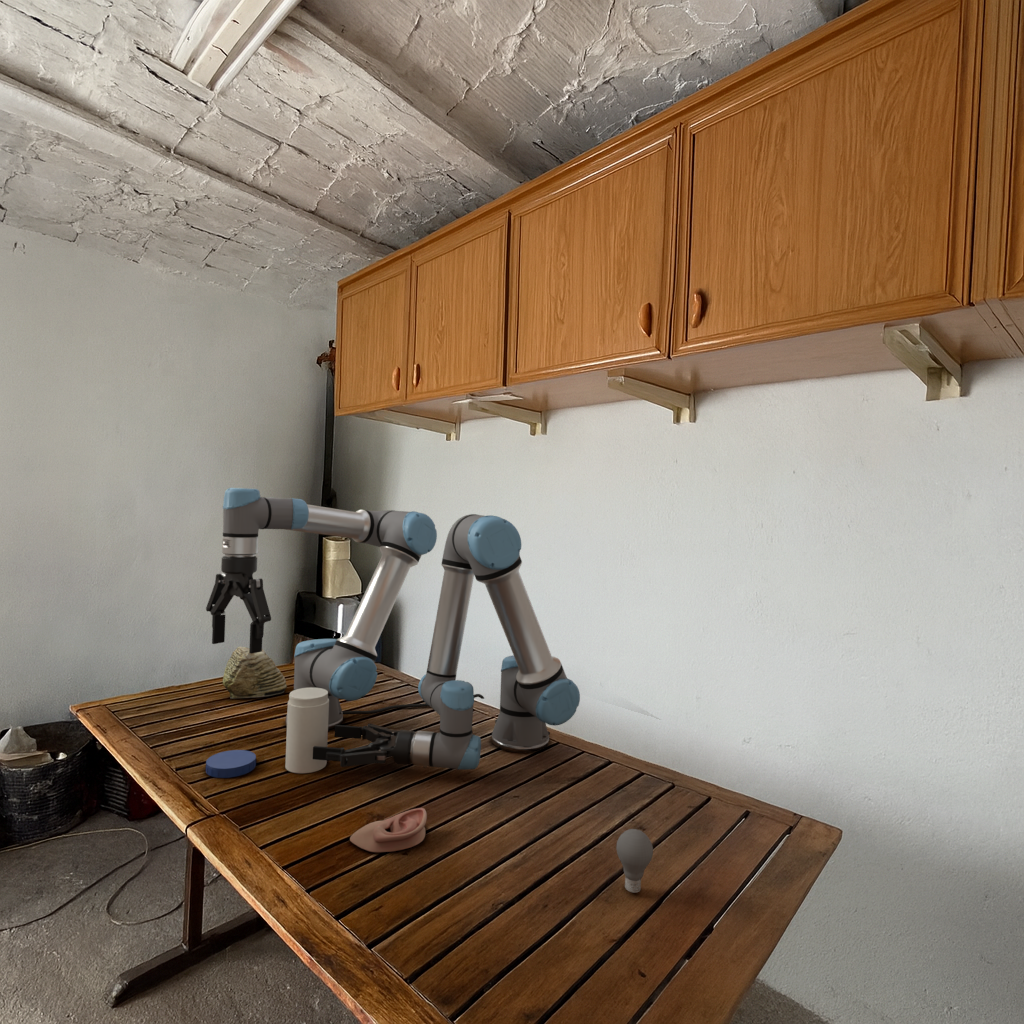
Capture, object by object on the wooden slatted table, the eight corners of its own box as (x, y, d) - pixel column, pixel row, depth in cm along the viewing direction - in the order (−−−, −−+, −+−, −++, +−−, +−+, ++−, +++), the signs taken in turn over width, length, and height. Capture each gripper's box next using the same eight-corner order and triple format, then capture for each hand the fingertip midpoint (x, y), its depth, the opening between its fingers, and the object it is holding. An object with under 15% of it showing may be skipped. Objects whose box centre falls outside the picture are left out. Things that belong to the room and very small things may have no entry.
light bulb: (610, 879, 108) (613, 822, 108) (644, 879, 109) (647, 822, 109) (619, 902, 102) (622, 840, 102) (655, 901, 103) (658, 840, 103)
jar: (283, 759, 151) (286, 688, 151) (324, 754, 155) (326, 685, 155) (286, 775, 143) (289, 700, 143) (329, 770, 147) (331, 697, 146)
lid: (264, 767, 146) (265, 758, 146) (219, 782, 138) (220, 773, 138) (241, 754, 153) (241, 746, 153) (197, 768, 145) (197, 759, 145)
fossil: (218, 695, 195) (220, 647, 195) (278, 685, 208) (279, 640, 207) (228, 703, 189) (230, 653, 188) (289, 692, 201) (290, 645, 201)
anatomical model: (342, 825, 115) (369, 797, 126) (341, 847, 115) (368, 817, 126) (412, 836, 112) (433, 806, 123) (411, 859, 112) (432, 826, 123)
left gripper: (191, 551, 148) (188, 641, 149) (261, 560, 135) (257, 659, 136) (221, 550, 155) (218, 636, 155) (289, 559, 142) (286, 653, 142)
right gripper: (399, 788, 134) (302, 780, 136) (424, 743, 159) (342, 737, 161) (400, 753, 134) (303, 745, 136) (426, 714, 159) (343, 708, 161)
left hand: (236, 647), depth 145 cm, fingers open, 13 cm apart
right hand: (324, 741), depth 148 cm, fingers open, 13 cm apart
